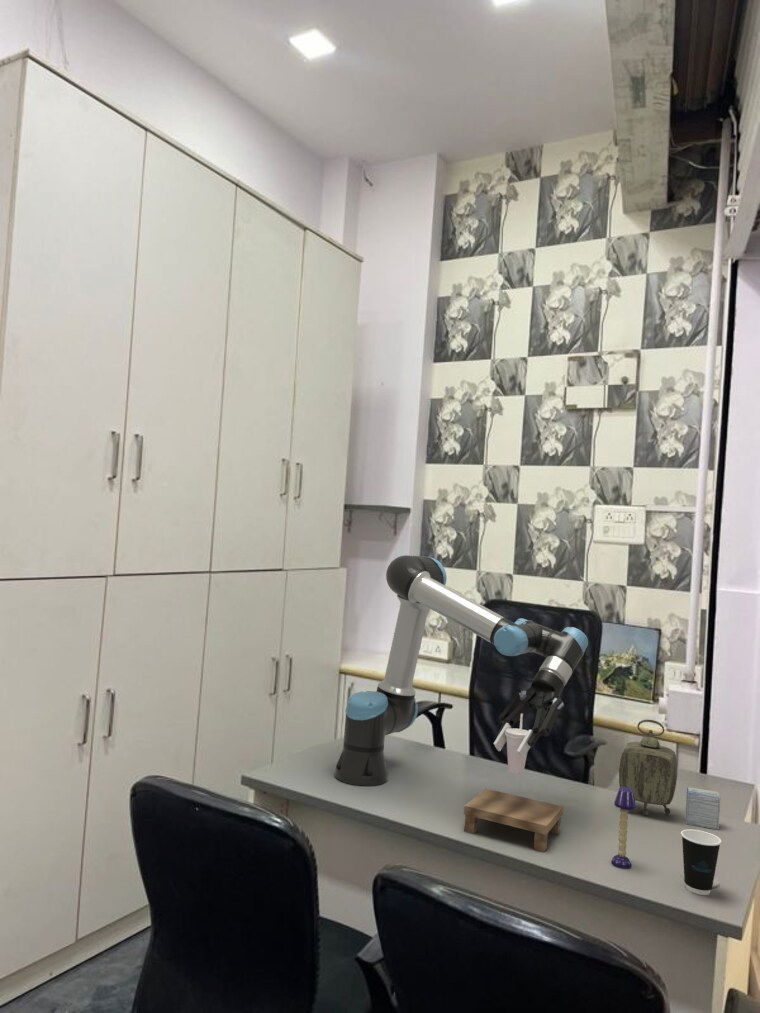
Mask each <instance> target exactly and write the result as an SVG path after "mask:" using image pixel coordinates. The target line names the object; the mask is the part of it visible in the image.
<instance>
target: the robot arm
mask: <svg viewBox="0 0 760 1013" xmlns="http://www.w3.org/2000/svg"><path fill="white" fill-rule="evenodd" d="M385 572H386V573H385V580H386V583H387V586H388V587H389V589H390V590H391V591H392V592H393V593H395V594H396V598H397V599H398V600H399V603H400V605H399V610H398V614H397V618H396V619H397V620H396V623H395V628H394V633H393V638H392V642H391V646H390V650H389V655H388V660H387V663H386V664H387V665H386V670H385V673H384V674H385V675H384V678H383V679H382V680H381V681H380V682H378V683H377V688H376V691H373V690H367V691H359V692H356V693H353V694H351V695H350V696H349V697H348V698H347V702H346V707H345V718H344V719H345V720H344V721H345V722H344V731H343V732H344V733H343V746H342V750H341V753H340V755H339V758H338V759H337V760H338V761H337V762H336V765H335V768H334V777H335V778H336V779H337V780H338V779H339V780H338V781H340V782H342V783H345V784H348V785H354V786H366V787H367V786H368V787H369V786H370V787H371V786H379V785H383V784H385V783H386V782H387V781H388V780H389V779H388V776H389V770H388V766H387V762H386V757H385V752H384V750H385V749H384V748H385V737H386V736H388V735H391V734H394V733H401V732H403V731H404V730H407V729H408V728H410V727H411V726H412V725H413V724H414V722H415V721H416V719H417V717H418V712H419V711H418V710H419V708H418V707H419V706H418V702H416V690H415V689H414V687H413V683H414V678H415V673H416V668H417V663H418V658H419V655H420V649H421V645H422V641H423V636H424V633H425V627H426V622H427V618H428V614H429V609H430V610H431V611H434V612H436V613H437V614H439V615H441V616H443V618H446V619H448V620H450V621H451V622H453V623H455V624H456V625H458V626H460V627H462V628H464V629H465V630H467V631H469V632H471V633H473V634H475V635H476V636H478V637H480V638H481V639H483V640H485V641H486V642H489V643H490V644H492V645H493V646H494V647H495V648H496V650H497V651H498V652H499V653H500V654H501V655H503V656H508V657H517V656H519V655H523V654H528V653H535V654H538V655H540V656H543V657H544V658H545V659H544V661H543V662H542V664H541V666H540V667H539V669H538V671H537V672H536V674H535V676H534V678H533V679H532V681H531V685H530V687H529V688H527V689H526V690H521V688H517V689H515V693H514V696H513V697H512V698H511V700H510V701H509V703H508V704H507V705H506V707H505V708H504V710H503V711H502V712H501V713H500V715H499V719H500V721H501V723H502V724H501V726H500V729H499V730H498V731H497V734H498V735H497V737H496V739H495V740H494V742H493V745H494V747H495V748H496V750H497V751H498V752H501V750H502V749H503V747H504V746H505V744H507V738H506V735H505V730H506V729H510V728H512V727H514V726H515V725H516V724H517V723H518V722H519V721H520V716H521V714H523V717H524V716H525V715H526V714H527V713H528V712H531V711H533V709H535V710H536V709H537V710H536V714H535V719H534V724H533V726H531V728H532V729H528V730H527V731H528V733H527V734H526V736H525V738H524V739H523V741H522V743H521V745H520V746H519V748H518V750H517V752H518V754H519V756H520V757H521V758H522V759H524V757H525V756H526V754H527V755H528V752H529V750H530V749H531V747H534V746H535V745H536V743H537V742H538V739H540V738H541V737H542V736H544V737H549V735H550V734H551V731H552V729H553V727H554V725H555V722H556V721H557V718H558V717H559V715H560V713H561V711H562V710H563V709H564V708H565V704H564V702H563V700H562V699H561V698H559V697H560V695H561V694H562V691H564V688H565V686H566V685H567V683H568V681H569V679H570V678H571V676H572V674H573V672H574V670H575V669H576V668H577V667H578V664H579V662H580V660H581V659H582V658H583V656H584V654H585V652H586V649H587V647H588V645H589V640H588V637H587V635H586V633H584V632H583V631H582V630H580V629H578V628H576V627H574V626H567V627H565V628H564V629H563V630H561V631H558V630H554V629H552V628H550V627H546V626H544V625H542V624H539V623H537V622H534V621H533V620H528V619H526V618H518V619H516V621H515V622H514V621H511V620H510V619H508V618H505V616H504V617H503V616H502V615H501V614H499V613H497V612H496V611H493V610H491V609H489V608H488V607H486V606H483V605H482V604H480V603H478V602H476V600H475V601H474V600H472V599H471V598H469V597H467V596H466V595H464V594H462V593H460V592H458V591H456V590H454V589H452V588H451V587H450V586H449V587H448V586H447V585H446V584H447V572H446V568H445V567H444V565H443V564H442V563H441V562H440V560H438V559H436V558H435V557H429V556H428V555H427V556H425V555H407V554H405V555H400V556H397V557H396V558H394V559H393V560H392V561H391V562H390V563H389V565H388V567H387V569H386V571H385ZM549 707H550V708H549Z"/></svg>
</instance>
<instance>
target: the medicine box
mask: <svg viewBox="0 0 760 1013" xmlns="http://www.w3.org/2000/svg"><path fill="white" fill-rule="evenodd" d="M720 810H721V796H720V794H719V792H718V791H714V790H708V789H702V788H695V787H689V786H688V787H687V788H686V804H685V823H686V825H690V826H695V827H700V828H706V829H713V830H720V828H719V827H720Z"/></svg>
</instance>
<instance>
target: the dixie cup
mask: <svg viewBox="0 0 760 1013" xmlns="http://www.w3.org/2000/svg"><path fill="white" fill-rule="evenodd" d="M680 836H681V840H682V842H681V843H682V856H683V857H682V858H683V859H682V860H683V861H682V862H683V863H682V864H683V878H684V880H683V881H684V884H685V888H686V890H688V892H690V893H693V894H695V895H701V896H709V895H710V894H711V891H712V889H713V886H714V880H715V874H716V868H717V863H718V857H719V852H720V847H721V846H720V845H721V844H722V842H723V841H722V839H721V837H719V836H717V835H715V834H713V833H710V832H707V831H704V830H700V829H699V830H698V829H690V828H689V829H683V830H681V832H680Z"/></svg>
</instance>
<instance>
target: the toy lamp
mask: <svg viewBox="0 0 760 1013" xmlns="http://www.w3.org/2000/svg"><path fill="white" fill-rule="evenodd" d="M636 804H637V803H636V800H635V798H634V793H633V790H632V789H631V788H628V787H620V786H619V788H618V789H617V793H616V797H615V799H614V803H613V805H614V806H615V807H616V808H618V809H620V814H619V824H618V826H619V828H618V833H619V835H618V844H617V846H618V850H617V854H616V855H614V856H613V857H612V858H611V861H610V862H611V865H612V864H613V865H612V866H614V867H616V868H620V869H629V868H632V863H631V860H630V859H629V858H628V857H627V850H626V849H627V841H628V838H627V835H628V829H627V828H628V826H629V824H628V820H629V815H628V814H629V811H633V810H636V809H637V808H636V807H637V805H636Z"/></svg>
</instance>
